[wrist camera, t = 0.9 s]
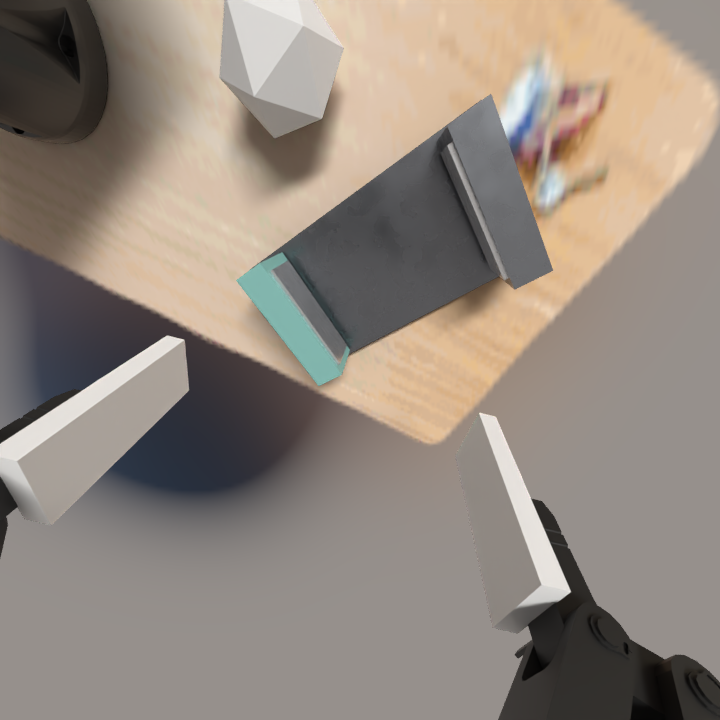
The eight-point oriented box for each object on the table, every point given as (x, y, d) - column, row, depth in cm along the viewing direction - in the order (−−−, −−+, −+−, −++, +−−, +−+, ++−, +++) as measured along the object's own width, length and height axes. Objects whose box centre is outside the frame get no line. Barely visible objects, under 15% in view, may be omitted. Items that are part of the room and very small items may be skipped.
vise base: (255, 267, 34) (221, 284, 28) (477, 104, 25) (503, 73, 19) (325, 361, 39) (310, 394, 33) (532, 253, 30) (568, 269, 24)
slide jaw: (261, 267, 32) (236, 280, 28) (285, 250, 31) (263, 260, 26) (329, 360, 37) (318, 386, 32) (352, 348, 36) (344, 373, 31)
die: (363, 42, 25) (279, -125, 17) (355, 146, 25) (267, 30, 17) (289, 81, 29) (191, -38, 21) (282, 170, 29) (181, 87, 21)
